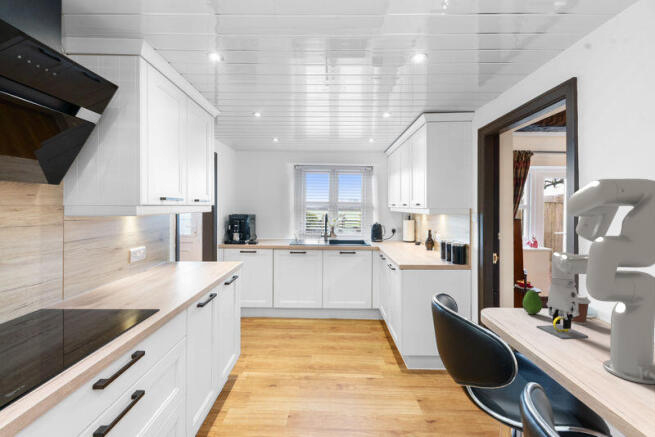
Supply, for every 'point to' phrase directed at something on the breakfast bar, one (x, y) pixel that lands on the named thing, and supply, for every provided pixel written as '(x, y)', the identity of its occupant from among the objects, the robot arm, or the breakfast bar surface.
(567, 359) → the breakfast bar surface
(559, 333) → the slate coaster
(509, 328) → the breakfast bar surface
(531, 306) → the avocado
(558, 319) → the watch
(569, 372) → the breakfast bar surface
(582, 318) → the coffee cup
